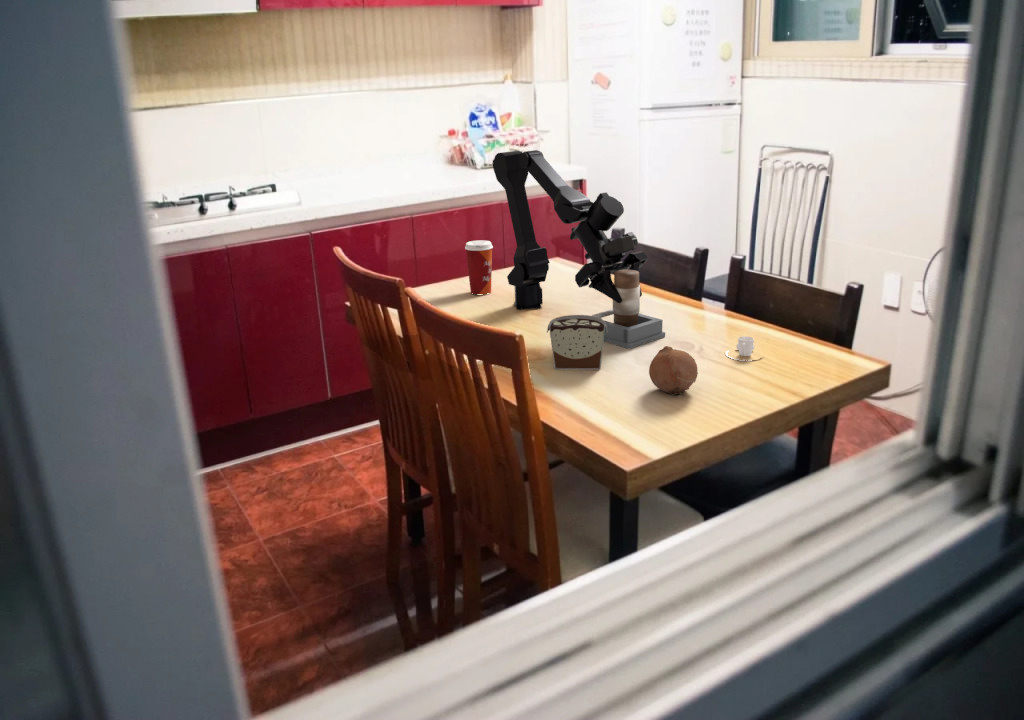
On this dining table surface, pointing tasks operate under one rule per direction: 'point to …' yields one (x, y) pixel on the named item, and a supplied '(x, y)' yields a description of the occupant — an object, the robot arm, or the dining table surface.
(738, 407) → the dining table surface
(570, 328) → the food container
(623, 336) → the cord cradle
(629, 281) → the cord spool
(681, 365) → the onion
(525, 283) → the robot arm
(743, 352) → the teacup and saucer
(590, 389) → the dining table surface
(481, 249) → the paper cup
